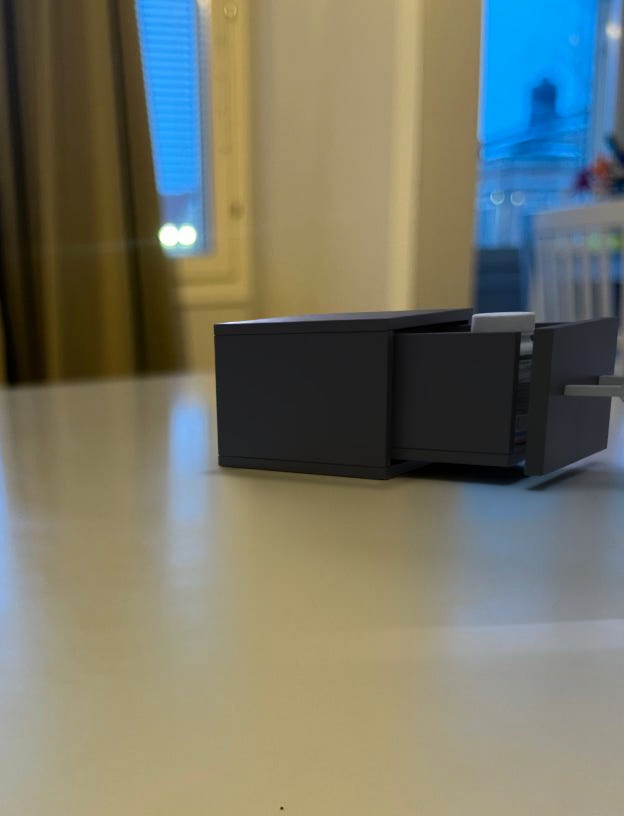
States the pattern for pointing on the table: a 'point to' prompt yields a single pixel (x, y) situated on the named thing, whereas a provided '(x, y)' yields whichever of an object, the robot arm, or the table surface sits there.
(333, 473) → the cabinet
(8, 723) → the table surface
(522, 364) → the pill bottle
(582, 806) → the table surface
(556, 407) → the drawer
